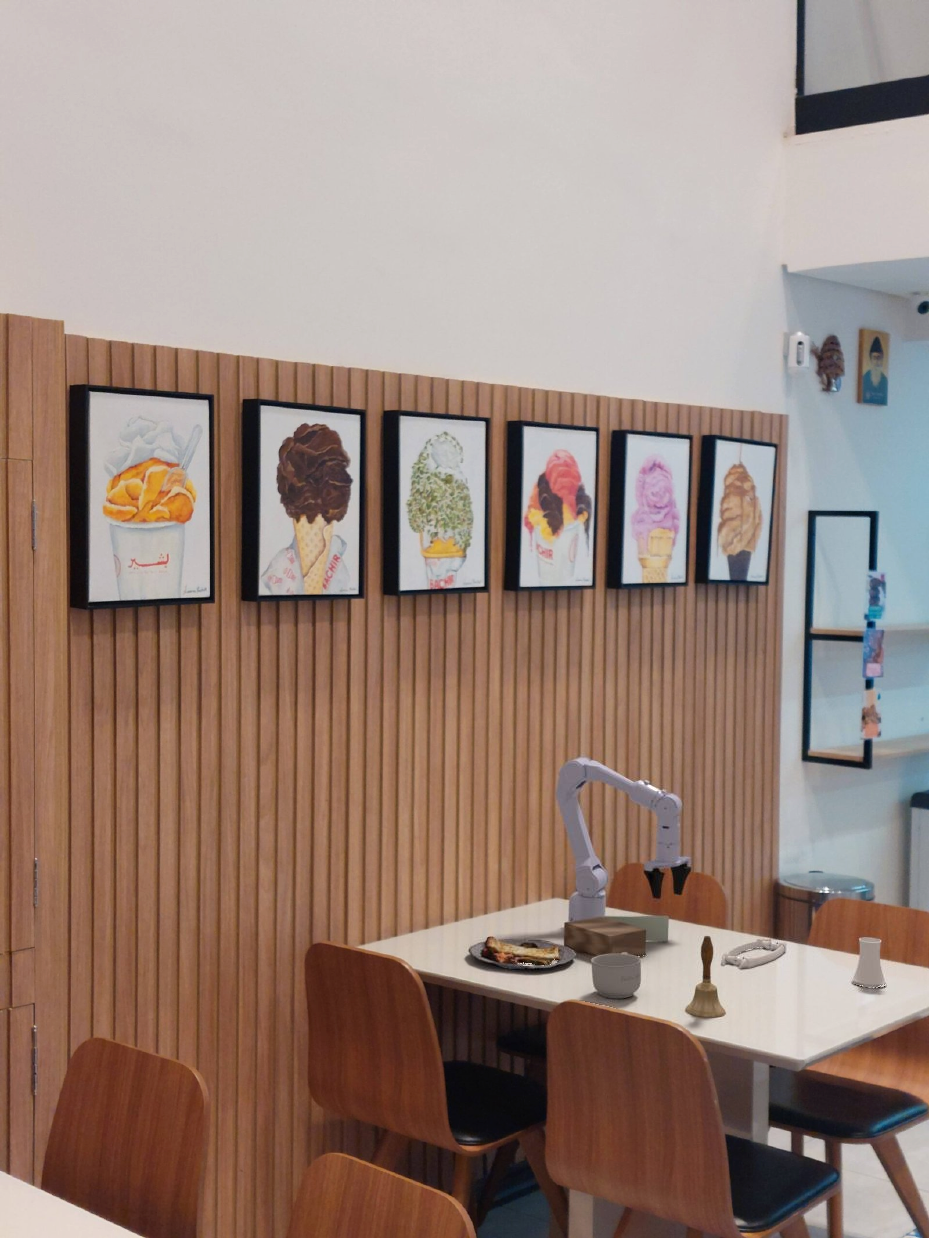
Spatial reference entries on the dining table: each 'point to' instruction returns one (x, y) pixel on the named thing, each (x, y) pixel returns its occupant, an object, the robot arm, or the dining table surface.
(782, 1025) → the dining table surface
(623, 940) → the brown wooden block
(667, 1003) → the dining table surface
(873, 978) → the cooling tower model
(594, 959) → the teacup
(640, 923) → the cabinet door
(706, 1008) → the hand bell
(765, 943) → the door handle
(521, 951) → the food plate
